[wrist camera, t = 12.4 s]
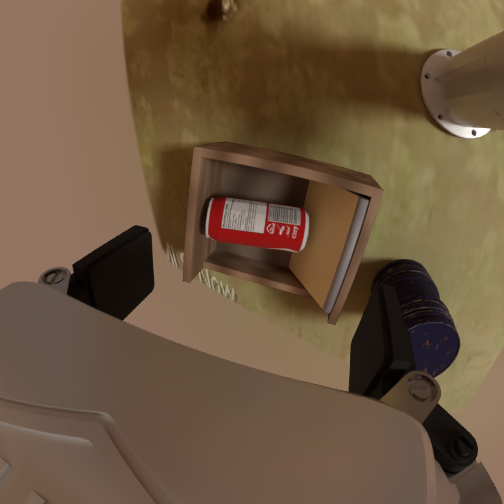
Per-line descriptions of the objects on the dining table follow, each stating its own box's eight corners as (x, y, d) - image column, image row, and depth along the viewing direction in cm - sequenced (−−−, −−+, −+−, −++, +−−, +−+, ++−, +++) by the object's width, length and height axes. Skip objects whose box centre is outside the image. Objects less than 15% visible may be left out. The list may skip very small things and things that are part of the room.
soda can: (297, 238, 39) (210, 226, 39) (306, 201, 36) (212, 188, 36) (301, 261, 34) (202, 248, 34) (312, 221, 31) (204, 206, 31)
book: (371, 201, 27) (363, 200, 26) (333, 312, 33) (325, 313, 33) (318, 172, 35) (310, 171, 35) (295, 266, 42) (287, 267, 41)
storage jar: (429, 252, 36) (465, 312, 23) (431, 307, 39) (456, 374, 26) (365, 266, 39) (377, 332, 26) (373, 319, 42) (381, 391, 29)
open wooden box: (370, 175, 34) (383, 190, 26) (336, 285, 42) (335, 325, 33) (224, 141, 37) (194, 146, 29) (210, 251, 45) (182, 280, 36)
